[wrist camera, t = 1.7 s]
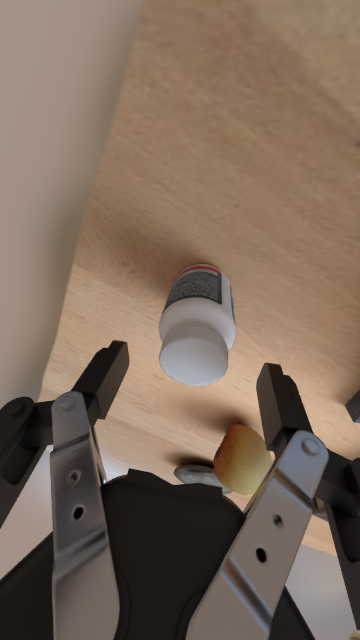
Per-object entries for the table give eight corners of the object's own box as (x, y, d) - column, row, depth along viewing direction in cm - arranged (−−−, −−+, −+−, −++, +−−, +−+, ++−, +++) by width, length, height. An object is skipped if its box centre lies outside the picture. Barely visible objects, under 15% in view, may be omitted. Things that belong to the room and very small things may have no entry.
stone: (246, 475, 42) (248, 496, 39) (215, 484, 47) (215, 503, 44) (193, 450, 39) (191, 471, 36) (166, 463, 44) (163, 482, 41)
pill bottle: (161, 285, 19) (128, 354, 12) (207, 249, 17) (198, 310, 10) (197, 323, 21) (186, 401, 14) (243, 296, 19) (257, 374, 12)
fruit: (228, 443, 35) (230, 505, 28) (203, 416, 31) (198, 481, 25) (274, 436, 32) (289, 505, 25) (252, 406, 28) (261, 477, 22)
